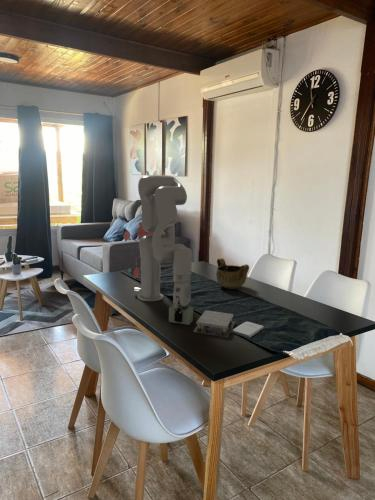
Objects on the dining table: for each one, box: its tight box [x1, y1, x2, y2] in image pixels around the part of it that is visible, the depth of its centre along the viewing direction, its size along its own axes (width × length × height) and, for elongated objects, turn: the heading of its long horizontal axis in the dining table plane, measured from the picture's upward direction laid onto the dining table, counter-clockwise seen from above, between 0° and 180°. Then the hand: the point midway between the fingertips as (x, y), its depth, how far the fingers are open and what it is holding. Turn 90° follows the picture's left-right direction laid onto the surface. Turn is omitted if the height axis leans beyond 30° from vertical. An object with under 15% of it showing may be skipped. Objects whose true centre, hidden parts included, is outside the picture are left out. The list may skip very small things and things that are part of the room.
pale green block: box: [168, 304, 194, 325], centre depth 155 cm, size 9×5×7 cm, turn 72°
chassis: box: [192, 309, 236, 339], centre depth 150 cm, size 14×16×4 cm
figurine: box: [123, 221, 163, 279], centre depth 214 cm, size 15×26×35 cm, turn 122°
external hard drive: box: [230, 321, 265, 339], centre depth 148 cm, size 2×8×12 cm
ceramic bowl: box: [215, 257, 250, 290], centre depth 204 cm, size 22×17×15 cm
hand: (181, 318), depth 156 cm, fingers open, 6 cm apart
